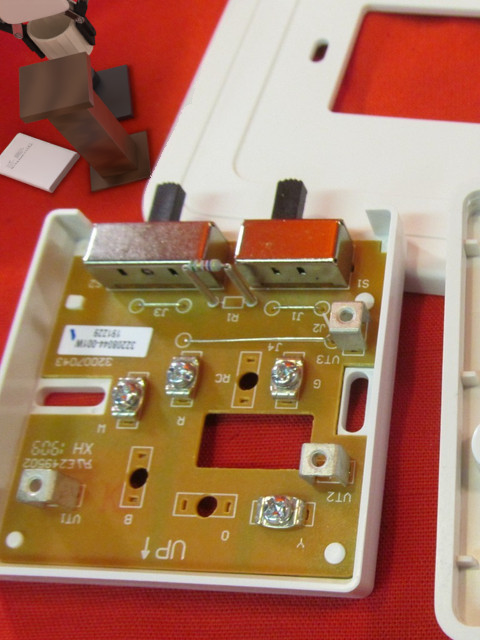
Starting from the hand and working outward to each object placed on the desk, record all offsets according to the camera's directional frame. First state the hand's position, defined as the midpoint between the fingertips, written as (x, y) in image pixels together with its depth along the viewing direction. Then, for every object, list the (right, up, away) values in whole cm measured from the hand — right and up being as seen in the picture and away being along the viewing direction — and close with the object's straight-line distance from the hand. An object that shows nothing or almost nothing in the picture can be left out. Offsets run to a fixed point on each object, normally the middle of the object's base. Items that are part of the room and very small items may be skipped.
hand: (67, 45), depth 109 cm
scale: (-2, -4, +13) cm, 14 cm away
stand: (+4, -17, +8) cm, 19 cm away
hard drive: (-10, -17, +9) cm, 21 cm away
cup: (0, 0, +1) cm, 1 cm away
